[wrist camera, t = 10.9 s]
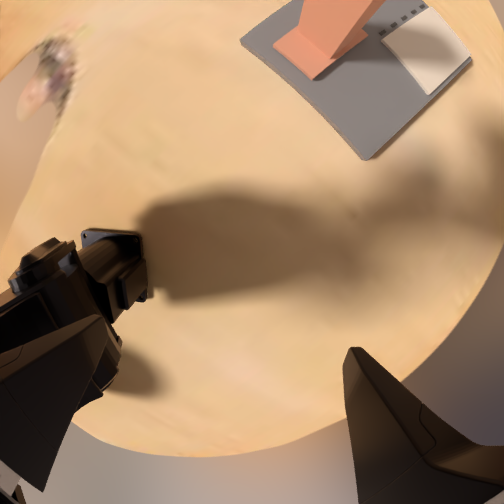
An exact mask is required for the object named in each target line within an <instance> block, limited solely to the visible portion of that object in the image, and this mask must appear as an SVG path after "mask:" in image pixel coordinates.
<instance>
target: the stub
mask: <svg viewBox="0 0 504 504" xmlns="http://www.w3.org/2000/svg"><path fill="white" fill-rule="evenodd" d="M385 1H386V0H304V3H303V7H302V11H301V16H300V20H299V24H298V26H296V27H295V28H294V29H292V30H291V31H290V32H288V33H287V34H286V35H284V36H283V37H282V38H280V39H279V40H278V41H277V42H275V43H274V44H273V48H274V49H276V50H277V51H278V52H279V53H281V54H282V55H283V56H284V57H285V58H287V59H288V60H289V61H290V62H291V63H293V64H294V65H295V66H296V67H297V68H298V69H299V70H301V71H302V72H303V73H304V74H305V75H306V76H307V77H308V78H309V79H310V80H313V79H314V78H315V77H316V76H318V75H319V74H320V73H321V72H323V71H324V70H325V69H326V68H327V67H329V66H330V65H331V64H332V63H334V62H335V61H336V60H337V59H339V58H340V57H341V56H343V55H344V54H345V53H346V52H348V51H349V50H350V49H352V48H353V47H354V46H356V45H357V44H358V43H360V42H361V41H362V40H364V39H365V38H366V37H367V36H368V34H367V33H366V32H365V31H364V30H362V28H363V26H364V25H365V24H366V23H367V22H368V20H369V19H370V18H371V17H372V16H373V15H374V13H375V12H376V11H377V10H378V9H379V8H380V6H381V5H382V4H383V3H384V2H385Z"/></svg>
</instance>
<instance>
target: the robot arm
mask: <svg viewBox="0 0 504 504" xmlns="http://www.w3.org/2000/svg"><path fill="white" fill-rule="evenodd" d="M85 234H86V235H87V237H86V235H85ZM134 238H136V239H137V240H138V242H136V241H135V239H134ZM81 240H82V247H83V248H82V249H81V250H79V251H78V252H77V251H76V249H75V248H76V245H75V242H74V240H72V241H70V242H66V241H64V242H60V241H59V240H57V239H56V238H55V237H54V238H51V239H49V240H48V241H46V242H44V243H42V244H40V245H39V246H37V247H35V248H34V249H32V250H31V251H30V252H28V253H27V254H26V255H24V256H23V257H22V259H21V262H20V266H19V267H18V268H17V269H16V270H15V272H14V273H13V274H12V275H11V276H10V278H9V279H8V283H9V285H10V287H11V288H9V289H8V290H6V291H5V292H3V293H2V294H0V504H26V502H25V499H24V496H23V493H22V490H21V486H20V485H18V482H19V480H20V478H21V477H22V478H23V479H24V480H25V481H27V482H28V483H30V484H31V485H32V486H34V487H35V488H37V489H38V490H40V491H41V492H43V491H44V489H45V486H46V483H47V480H48V477H49V474H50V471H51V468H52V466H53V463H54V461H55V458H56V456H57V453H58V450H59V448H60V445H61V443H62V440H63V438H64V436H65V433H66V431H67V429H68V426H69V424H70V422H71V420H72V417H73V415H74V413H75V412H76V411H78V410H79V409H80V408H81V407H83V406H84V405H86V404H88V403H89V402H91V401H93V400H96V399H98V398H100V397H102V396H103V391H104V390H105V389H106V388H108V387H109V385H110V384H111V383H112V382H113V380H114V378H115V377H116V375H117V374H118V371H119V369H118V367H117V365H118V362H119V360H120V357H121V346H122V340H121V338H120V337H119V336H117V334H116V332H115V330H114V329H113V327H112V325H111V324H113V323H114V322H115V321H116V319H117V318H118V317H119V316H120V314H121V313H122V312H123V311H124V310H128V309H129V308H130V307H131V306H132V305H133V304H134V302H135V301H136V302H145V301H146V299H147V289H146V287H147V286H148V282H147V272H146V261H145V259H144V258H143V244H142V237H141V236H140V235H139V234H136V233H124V232H112V231H100V230H87V229H86V230H84V231H82V233H81ZM140 295H141V296H142V297H143V298H142V297H141V296H140ZM343 384H344V400H345V409H346V415H347V420H348V427H349V433H350V440H351V446H352V453H353V460H354V468H355V476H356V484H357V493H358V502H359V504H504V446H485V445H479V444H476V443H474V442H472V441H471V440H469V439H468V438H466V437H465V436H464V435H462V434H461V433H460V432H458V431H457V430H456V429H454V428H453V427H451V426H450V425H448V424H447V423H446V422H445V421H443V420H442V419H441V418H440V417H438V416H437V415H436V414H435V413H434V412H432V411H431V410H430V409H429V408H428V407H427V406H426V405H425V404H424V403H422V402H421V401H420V400H419V399H418V398H417V397H416V396H415V395H413V394H412V393H411V392H410V391H409V390H408V389H407V388H406V387H405V386H404V385H403V384H401V383H400V382H399V381H398V380H397V379H396V378H395V377H394V376H393V375H391V374H390V373H389V372H388V371H387V370H386V369H385V368H384V367H383V366H382V365H380V364H379V363H378V362H377V361H376V360H375V359H374V358H373V357H372V356H370V355H369V354H368V353H367V352H366V351H365V350H364V349H363V348H361V347H350V348H349V350H348V352H347V355H346V358H345V360H344V363H343Z"/></svg>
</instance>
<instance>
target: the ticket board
mask: <svg viewBox="0 0 504 504" xmlns="http://www.w3.org/2000/svg"><path fill="white" fill-rule="evenodd" d="M303 3H304V0H292V1H291V2H289V3H288V4H286V5H285V6H283V7H282V8H280V9H279V10H277V11H276V12H275V13H273V14H272V15H270V16H269V17H268V18H266V19H265V20H264V21H262V22H261V23H260V24H258V25H257V26H256V27H255V28H253V29H252V30H251V31H249V32H248V33H247V34H246V35H245V36H243V37H242V38H241V39H240V42H241V45H242V46H243V47H245V48H246V49H247V50H249V51H250V52H251V53H252V54H254V55H255V56H256V57H258V58H259V59H260V60H261V61H263V62H264V63H265V64H266V65H267V66H269V67H270V68H271V69H272V70H273V71H275V72H276V73H277V74H278V75H279V76H280V77H282V78H283V79H284V80H285V81H286V82H287V83H288V84H289V85H291V86H292V87H293V88H294V89H295V90H296V91H297V92H298V93H299V94H300V95H301V96H302V97H303V98H304V99H306V100H307V101H308V102H309V103H310V104H311V105H312V106H313V107H314V108H315V109H316V110H317V111H318V112H319V113H320V114H321V115H322V116H323V117H324V118H325V119H326V121H327V122H328V123H329V124H330V125H331V126H332V127H333V128H334V129H335V130H336V131H337V132H338V133H339V134H340V136H341V137H342V138H343V139H344V140H345V141H346V142H347V143H348V145H349V146H350V147H351V148H352V149H353V150H354V151H355V153H356V154H357V155H358V156H359V157H360V159H361V160H365V161H367V160H368V159H369V158H370V157H371V156H373V155H374V154H375V153H376V152H377V151H378V150H379V149H380V148H381V147H382V146H383V145H384V144H385V143H386V142H387V141H388V140H390V139H391V138H392V137H393V136H394V135H395V134H396V133H397V132H398V131H399V130H400V129H401V128H402V127H403V126H404V125H405V124H406V123H407V122H408V121H410V120H411V119H412V118H413V117H414V116H415V115H416V114H417V113H418V112H419V111H420V110H421V109H422V108H423V107H424V106H425V105H426V104H427V103H428V102H429V101H430V100H431V99H432V98H434V97H435V96H436V95H437V94H438V93H439V92H440V91H441V90H442V89H443V88H444V87H445V86H446V85H447V84H448V83H449V82H450V81H451V80H452V79H453V78H454V77H455V76H456V75H457V74H458V73H459V72H460V71H461V70H462V69H463V68H464V67H465V66H466V65H467V64H468V63H469V62H471V61H472V59H471V57H470V55H471V53H470V52H469V50H468V49H467V47H466V46H465V45H464V43H463V42H462V41H461V40H460V38H459V37H458V36H457V35H456V33H455V32H454V31H453V30H452V28H451V27H450V26H449V25H448V24H447V23H446V21H445V20H444V19H443V18H442V17H441V16H440V15H439V14H438V12H437V11H436V10H435V9H434V8H433V7H432V6H431V7H428V6H427V5H426V4H425V3H424V2H423V1H422V0H386V1H385V2H384V3H383V4H382V5H381V6H380V8H379V9H378V10H377V11H376V12H375V13H374V15H373V16H372V17H371V18H370V19H369V20H368V22H367V23H366V24H365V25H364V26H363V28H362V30H364V31H365V32H366V33H367V34H368V36H367V37H366V38H365V39H364V40H362V41H361V42H360V43H358V44H357V45H356V46H354V47H353V48H352V49H350V50H349V51H348V52H346V53H345V54H344V55H343V56H341V57H340V58H339V59H337V60H336V61H335V62H334V63H332V64H331V65H330V66H329V67H327V68H326V69H325V70H324V71H323V72H321V73H320V74H319V75H318V76H316V77H315V78H314V79H313V80H310V79H309V78H308V77H307V76H306V75H305V74H304V73H303V72H302V71H301V70H299V69H298V68H297V67H296V66H295V65H294V64H293V63H291V62H290V61H289V60H288V59H287V58H285V57H284V56H283V55H282V54H281V53H279V52H278V51H277V50H276V49H274V48H273V44H274V43H275V42H277V41H278V40H279V39H280V38H282V37H283V36H284V35H286V34H287V33H288V32H290V31H291V30H292V29H294V28H295V27H296V26H298V24H299V20H300V16H301V11H302V7H303Z"/></svg>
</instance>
